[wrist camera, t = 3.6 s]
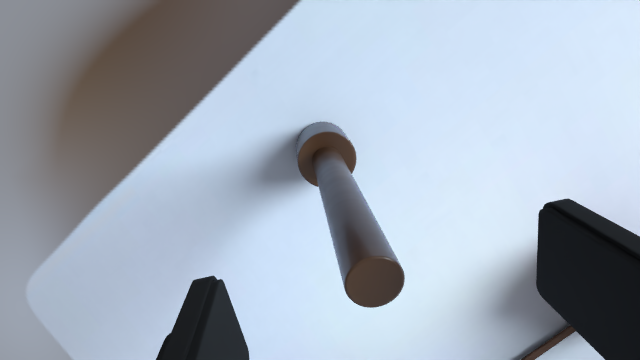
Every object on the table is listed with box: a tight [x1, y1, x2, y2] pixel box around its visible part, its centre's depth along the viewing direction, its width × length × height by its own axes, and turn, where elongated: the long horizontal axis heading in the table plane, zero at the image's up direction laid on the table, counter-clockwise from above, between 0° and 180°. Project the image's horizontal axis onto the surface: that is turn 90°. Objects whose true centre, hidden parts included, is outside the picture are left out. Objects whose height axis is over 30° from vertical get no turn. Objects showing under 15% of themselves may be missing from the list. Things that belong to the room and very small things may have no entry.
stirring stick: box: [296, 122, 405, 307], centre depth 17 cm, size 4×4×15 cm
